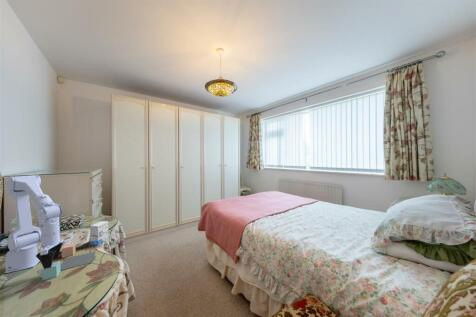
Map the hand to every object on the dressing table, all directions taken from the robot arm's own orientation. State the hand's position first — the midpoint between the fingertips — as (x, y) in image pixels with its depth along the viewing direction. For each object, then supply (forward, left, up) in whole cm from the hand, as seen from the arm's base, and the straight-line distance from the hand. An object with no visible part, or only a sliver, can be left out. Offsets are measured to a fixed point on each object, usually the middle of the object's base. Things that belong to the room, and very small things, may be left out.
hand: (51, 263), depth 79 cm
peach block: (+1, +19, -6) cm, 20 cm away
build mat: (+7, +9, -6) cm, 13 cm away
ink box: (+13, +28, -6) cm, 31 cm away
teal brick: (0, 0, -6) cm, 6 cm away
